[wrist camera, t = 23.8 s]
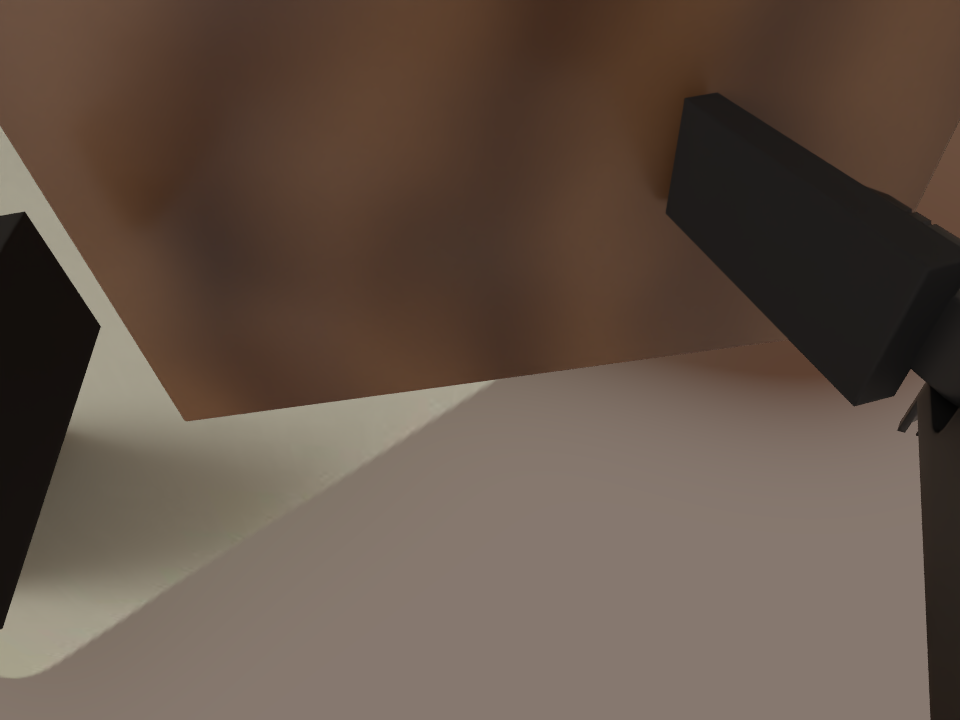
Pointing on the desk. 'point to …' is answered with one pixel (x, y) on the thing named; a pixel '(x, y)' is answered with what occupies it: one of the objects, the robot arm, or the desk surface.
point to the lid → (435, 172)
